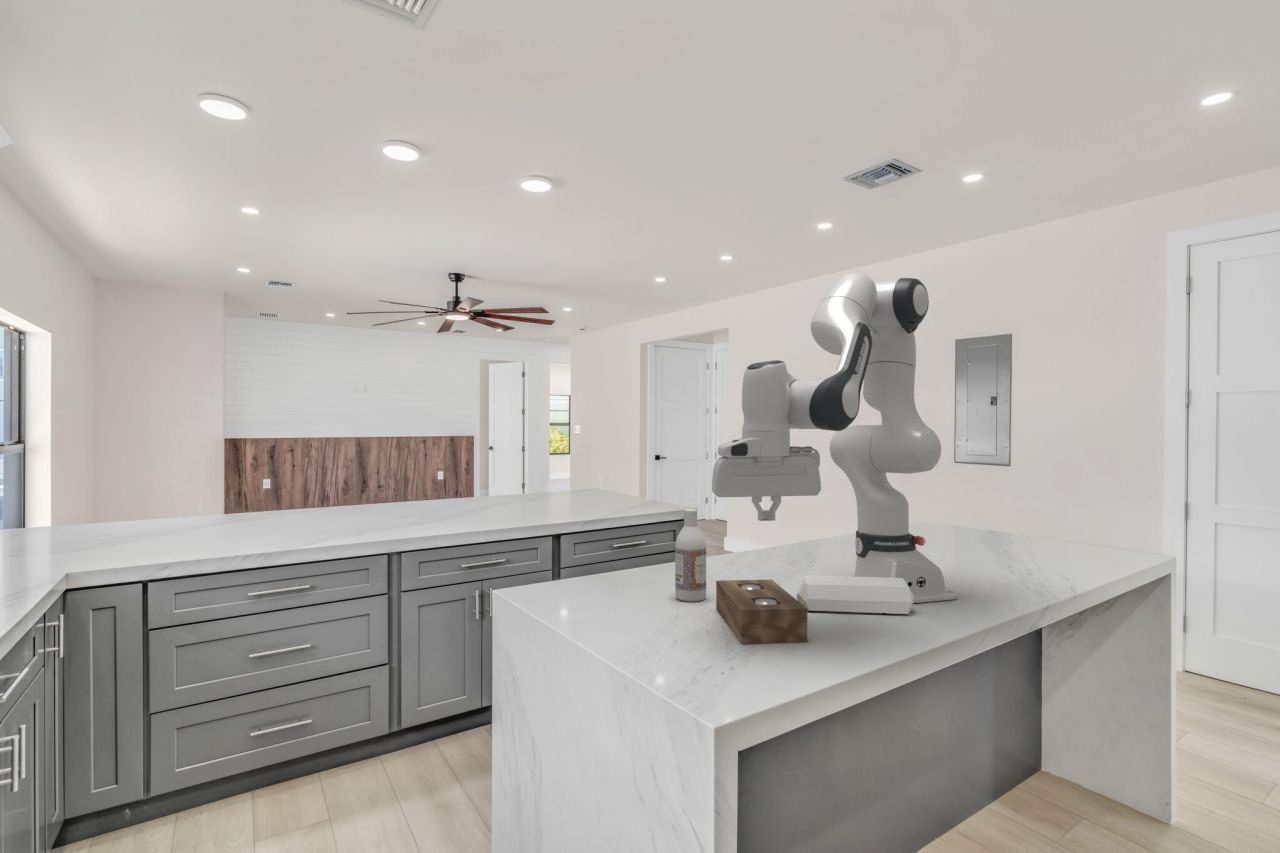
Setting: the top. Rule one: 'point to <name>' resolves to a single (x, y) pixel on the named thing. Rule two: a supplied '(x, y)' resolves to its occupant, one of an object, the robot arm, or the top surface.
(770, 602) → the peg
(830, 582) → the crystal
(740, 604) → the brown wooden block
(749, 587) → the peg
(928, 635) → the top surface
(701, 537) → the bath foam
